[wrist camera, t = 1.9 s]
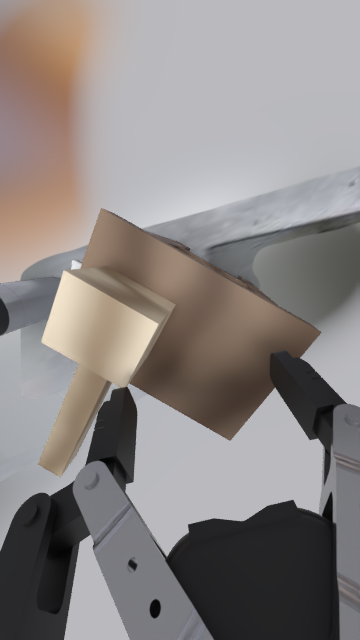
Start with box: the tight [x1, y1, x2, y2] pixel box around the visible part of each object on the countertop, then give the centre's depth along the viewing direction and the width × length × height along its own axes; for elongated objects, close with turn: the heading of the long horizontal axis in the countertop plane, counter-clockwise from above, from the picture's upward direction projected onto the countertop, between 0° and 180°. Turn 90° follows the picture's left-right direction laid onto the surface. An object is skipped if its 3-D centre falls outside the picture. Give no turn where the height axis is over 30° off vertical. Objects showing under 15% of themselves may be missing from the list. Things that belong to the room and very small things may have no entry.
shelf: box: [80, 208, 321, 440], centre depth 32 cm, size 18×12×32 cm, turn 62°
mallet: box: [38, 266, 176, 477], centre depth 17 cm, size 6×20×5 cm, turn 152°
